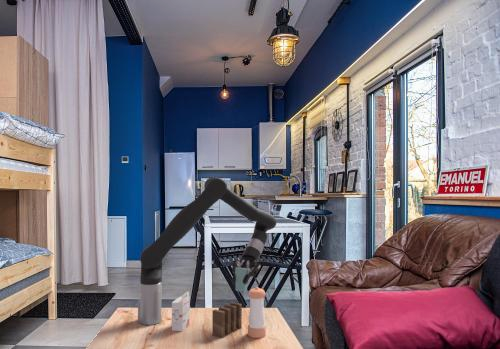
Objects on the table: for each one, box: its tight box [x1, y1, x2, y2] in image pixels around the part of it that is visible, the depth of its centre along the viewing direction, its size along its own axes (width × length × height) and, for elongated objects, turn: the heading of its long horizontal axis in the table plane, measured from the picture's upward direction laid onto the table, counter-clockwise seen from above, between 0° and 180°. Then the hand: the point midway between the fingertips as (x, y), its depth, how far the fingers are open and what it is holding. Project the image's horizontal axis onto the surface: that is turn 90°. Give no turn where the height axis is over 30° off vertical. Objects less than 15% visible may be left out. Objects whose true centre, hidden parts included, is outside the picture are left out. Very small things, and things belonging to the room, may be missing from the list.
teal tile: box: [235, 267, 248, 293], centre depth 168 cm, size 2×5×10 cm, turn 57°
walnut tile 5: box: [211, 309, 226, 339], centre depth 153 cm, size 2×5×10 cm, turn 57°
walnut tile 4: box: [218, 306, 231, 336], centre depth 157 cm, size 2×5×10 cm, turn 57°
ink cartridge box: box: [171, 290, 191, 332], centre depth 163 cm, size 9×5×15 cm, turn 168°
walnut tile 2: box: [229, 301, 243, 330], centre depth 164 cm, size 2×5×10 cm, turn 57°
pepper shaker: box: [247, 286, 267, 339], centre depth 155 cm, size 7×7×19 cm
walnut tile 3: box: [224, 304, 237, 333], centre depth 160 cm, size 2×5×10 cm, turn 57°
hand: (238, 282), depth 166 cm, fingers closed on teal tile, 5 cm apart
